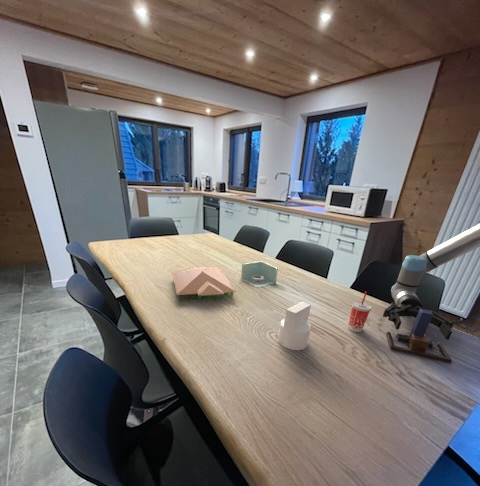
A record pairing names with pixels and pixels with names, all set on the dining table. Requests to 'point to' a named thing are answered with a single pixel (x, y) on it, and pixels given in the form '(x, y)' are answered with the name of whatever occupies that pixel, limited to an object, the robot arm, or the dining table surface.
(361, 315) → the beverage cup
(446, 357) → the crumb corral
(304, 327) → the base with upright slab
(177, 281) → the house
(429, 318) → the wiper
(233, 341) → the dining table surface
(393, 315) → the robot arm
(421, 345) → the orange brown cube
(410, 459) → the dining table surface
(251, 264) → the right angle wall
